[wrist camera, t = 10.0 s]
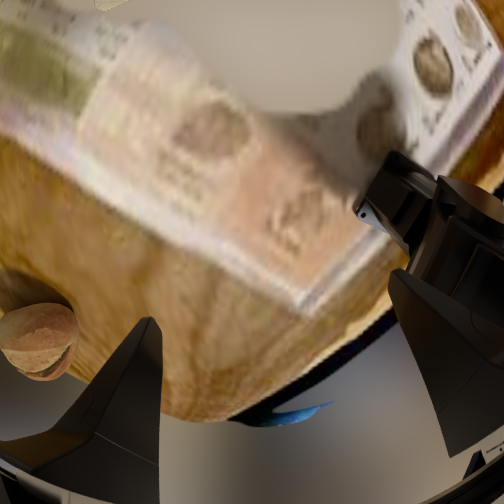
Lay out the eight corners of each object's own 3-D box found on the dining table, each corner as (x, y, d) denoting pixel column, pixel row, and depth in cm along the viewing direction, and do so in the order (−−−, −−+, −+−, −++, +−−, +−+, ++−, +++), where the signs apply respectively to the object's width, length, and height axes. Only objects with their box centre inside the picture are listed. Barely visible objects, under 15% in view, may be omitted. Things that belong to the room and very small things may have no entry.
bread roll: (105, 334, 28) (88, 391, 22) (43, 348, 30) (26, 391, 24) (53, 275, 23) (20, 332, 16) (1, 304, 25) (-24, 346, 18)
